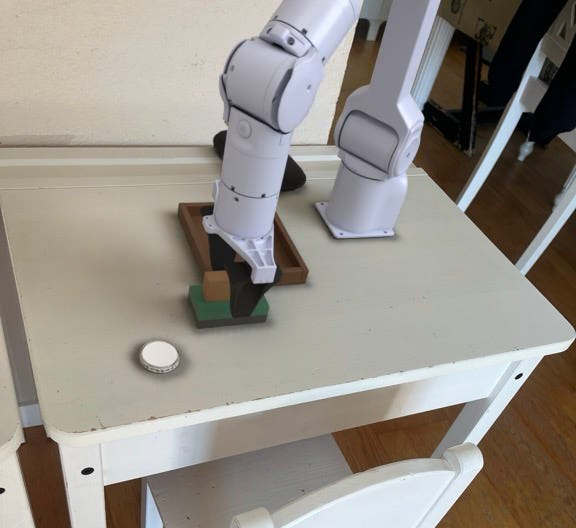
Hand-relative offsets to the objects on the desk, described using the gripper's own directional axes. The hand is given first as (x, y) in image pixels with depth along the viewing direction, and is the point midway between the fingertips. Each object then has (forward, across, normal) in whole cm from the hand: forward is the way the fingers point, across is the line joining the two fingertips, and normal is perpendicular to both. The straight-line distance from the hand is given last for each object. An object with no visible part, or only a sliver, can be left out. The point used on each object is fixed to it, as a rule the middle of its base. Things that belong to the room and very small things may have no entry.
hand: (230, 291), depth 68 cm
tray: (+3, -11, +5) cm, 12 cm away
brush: (+3, 0, 0) cm, 3 cm away
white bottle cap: (+3, +6, -9) cm, 11 cm away
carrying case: (+3, -30, +13) cm, 32 cm away
